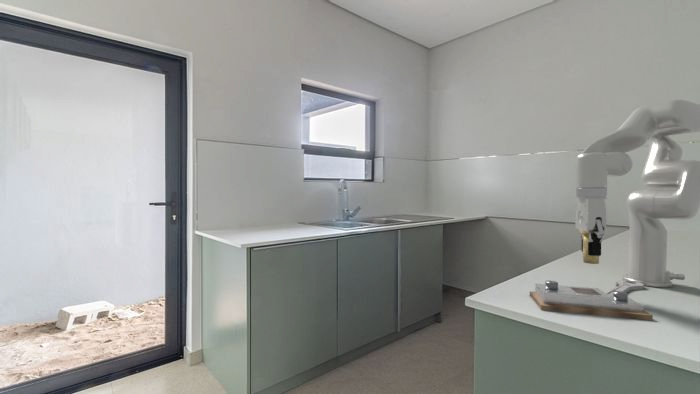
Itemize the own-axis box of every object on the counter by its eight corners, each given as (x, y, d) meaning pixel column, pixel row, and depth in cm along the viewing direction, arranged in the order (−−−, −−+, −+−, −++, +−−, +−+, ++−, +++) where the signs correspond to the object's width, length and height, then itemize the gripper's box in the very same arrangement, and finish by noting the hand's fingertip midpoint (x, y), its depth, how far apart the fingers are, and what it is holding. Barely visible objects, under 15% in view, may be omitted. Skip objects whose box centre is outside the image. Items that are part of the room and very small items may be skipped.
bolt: (597, 260, 102) (597, 228, 102) (606, 265, 97) (606, 231, 96) (576, 259, 104) (576, 228, 103) (584, 264, 98) (584, 231, 98)
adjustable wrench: (612, 303, 93) (612, 296, 93) (586, 296, 98) (586, 290, 98) (646, 288, 106) (646, 283, 106) (622, 283, 111) (622, 278, 111)
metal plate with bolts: (625, 301, 89) (626, 283, 89) (642, 311, 81) (643, 292, 81) (535, 293, 95) (535, 277, 95) (543, 303, 87) (543, 285, 87)
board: (626, 303, 91) (626, 299, 91) (652, 320, 79) (652, 315, 79) (529, 295, 97) (529, 291, 97) (541, 309, 86) (541, 305, 86)
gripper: (567, 193, 108) (567, 248, 109) (588, 195, 92) (588, 259, 93) (593, 192, 106) (593, 248, 107) (620, 194, 90) (619, 260, 91)
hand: (591, 253), depth 100 cm, fingers closed on bolt, 4 cm apart
